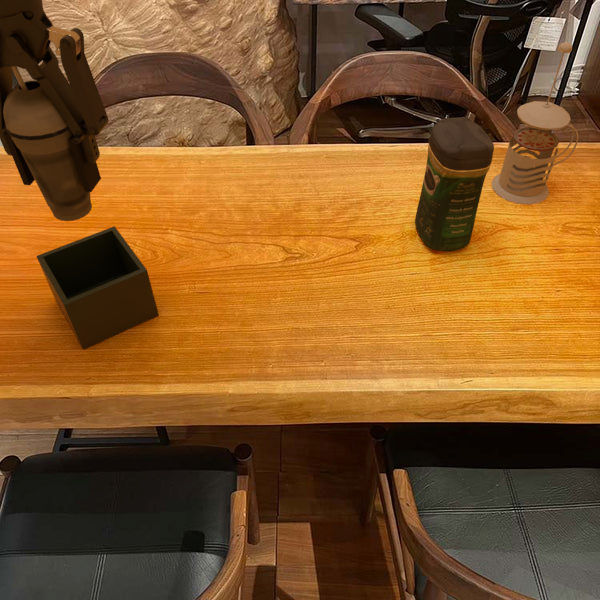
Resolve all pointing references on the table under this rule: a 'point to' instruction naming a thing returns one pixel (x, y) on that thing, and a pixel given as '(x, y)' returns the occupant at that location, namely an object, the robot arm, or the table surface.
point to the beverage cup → (46, 148)
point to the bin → (99, 286)
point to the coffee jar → (453, 183)
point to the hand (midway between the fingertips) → (62, 181)
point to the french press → (520, 169)
